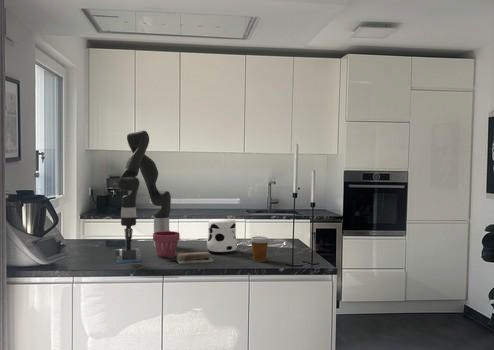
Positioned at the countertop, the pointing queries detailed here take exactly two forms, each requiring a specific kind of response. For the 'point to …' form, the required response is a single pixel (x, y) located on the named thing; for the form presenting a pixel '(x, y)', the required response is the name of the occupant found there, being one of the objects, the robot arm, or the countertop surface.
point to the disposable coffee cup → (259, 248)
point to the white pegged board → (138, 258)
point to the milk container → (221, 236)
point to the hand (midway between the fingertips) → (128, 249)
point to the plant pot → (166, 243)
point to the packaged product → (194, 257)
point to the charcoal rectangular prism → (126, 254)
